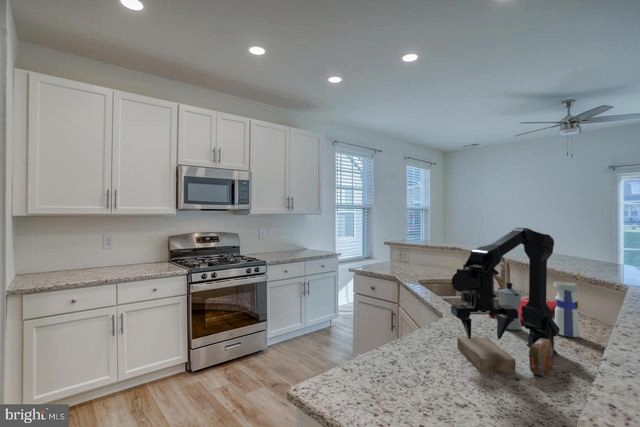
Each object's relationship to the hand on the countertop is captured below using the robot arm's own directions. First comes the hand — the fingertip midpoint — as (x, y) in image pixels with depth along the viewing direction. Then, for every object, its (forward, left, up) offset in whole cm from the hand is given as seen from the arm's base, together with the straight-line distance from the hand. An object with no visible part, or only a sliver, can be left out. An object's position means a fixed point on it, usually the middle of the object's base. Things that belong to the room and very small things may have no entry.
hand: (483, 338), depth 102 cm
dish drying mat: (-44, -53, -8) cm, 70 cm away
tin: (-14, +6, -7) cm, 17 cm away
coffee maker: (-25, -33, -7) cm, 42 cm away
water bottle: (-43, -25, -7) cm, 50 cm away
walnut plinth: (0, 0, -7) cm, 7 cm away
